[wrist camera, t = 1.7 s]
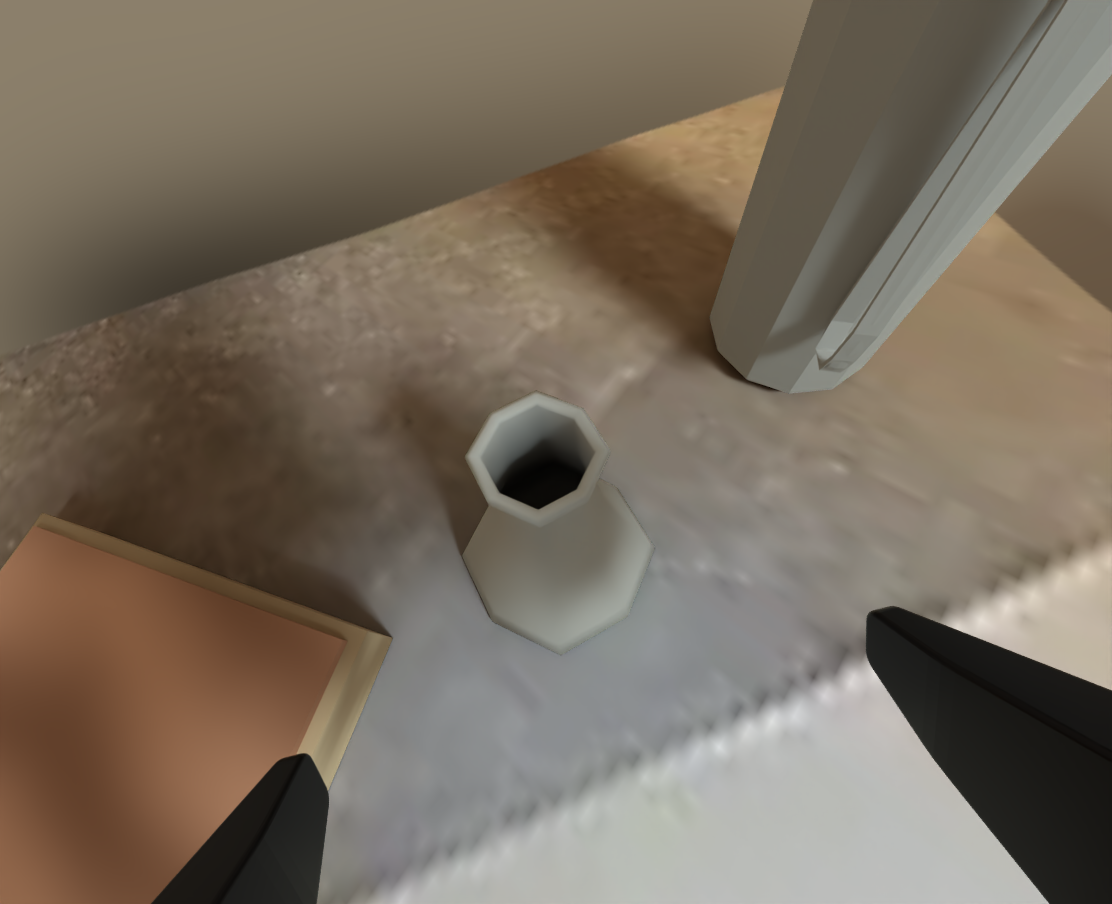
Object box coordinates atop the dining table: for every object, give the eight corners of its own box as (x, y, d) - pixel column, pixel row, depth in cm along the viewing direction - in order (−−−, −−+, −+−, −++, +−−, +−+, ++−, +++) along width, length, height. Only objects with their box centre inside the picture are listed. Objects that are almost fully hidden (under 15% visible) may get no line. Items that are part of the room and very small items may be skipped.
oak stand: (183, 1132, 15) (95, 1228, 13) (-169, 926, 18) (-307, 969, 15) (393, 638, 20) (362, 629, 18) (98, 531, 23) (32, 509, 20)
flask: (562, 693, 19) (540, 695, 10) (431, 558, 22) (319, 463, 13) (686, 548, 21) (761, 442, 12) (554, 438, 24) (534, 279, 15)
